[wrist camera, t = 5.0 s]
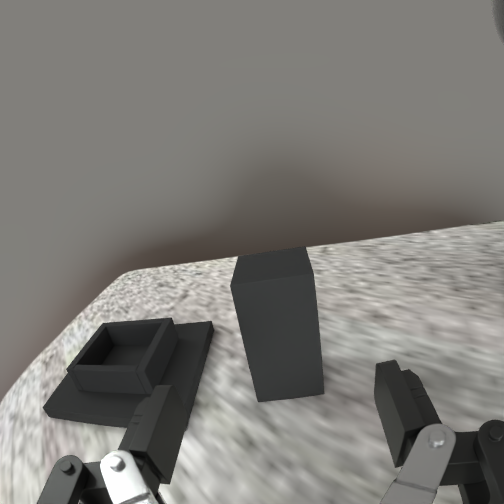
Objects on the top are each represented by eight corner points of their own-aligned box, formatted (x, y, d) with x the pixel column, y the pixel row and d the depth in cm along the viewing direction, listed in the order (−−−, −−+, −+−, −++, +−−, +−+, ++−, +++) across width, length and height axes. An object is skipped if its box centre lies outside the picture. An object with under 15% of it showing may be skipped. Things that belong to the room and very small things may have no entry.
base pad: (104, 337, 35) (93, 311, 34) (214, 330, 34) (205, 299, 32) (48, 416, 22) (28, 386, 21) (185, 431, 20) (169, 396, 19)
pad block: (260, 362, 27) (238, 256, 24) (317, 354, 27) (305, 246, 23) (257, 402, 22) (229, 285, 19) (324, 394, 22) (313, 273, 19)
